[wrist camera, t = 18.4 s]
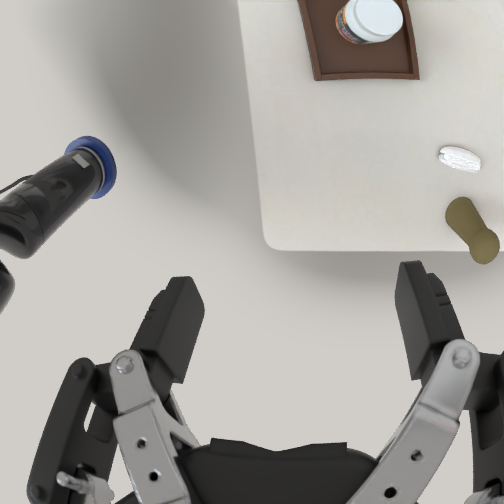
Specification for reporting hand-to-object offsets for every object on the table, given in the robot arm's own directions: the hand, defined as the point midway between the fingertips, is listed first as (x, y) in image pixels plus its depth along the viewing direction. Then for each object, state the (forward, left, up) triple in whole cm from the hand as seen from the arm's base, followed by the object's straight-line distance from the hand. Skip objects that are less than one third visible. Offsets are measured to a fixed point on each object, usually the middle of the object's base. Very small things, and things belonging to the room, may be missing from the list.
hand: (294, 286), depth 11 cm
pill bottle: (+10, +13, -30) cm, 34 cm away
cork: (+26, -16, -30) cm, 43 cm away
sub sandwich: (+24, -6, -30) cm, 39 cm away
